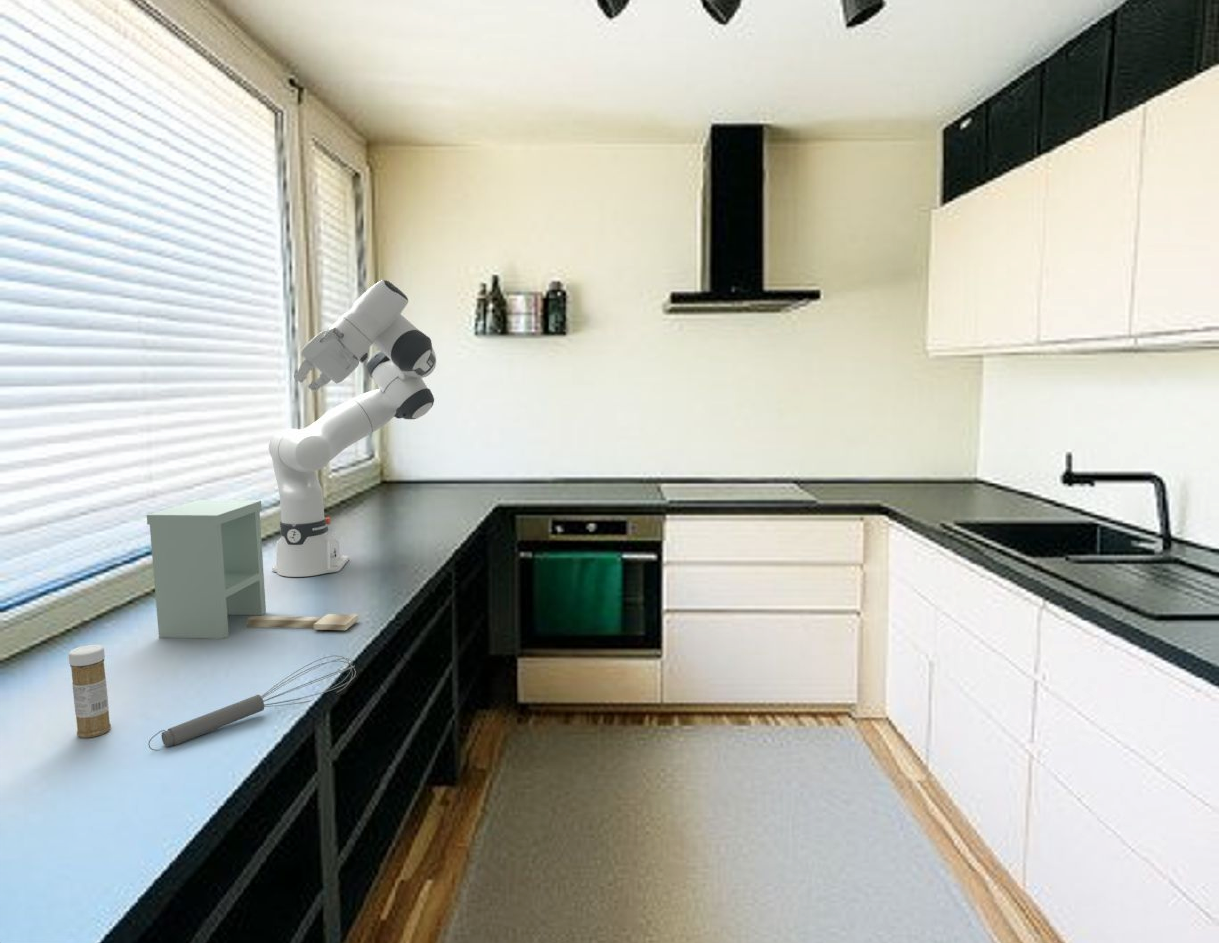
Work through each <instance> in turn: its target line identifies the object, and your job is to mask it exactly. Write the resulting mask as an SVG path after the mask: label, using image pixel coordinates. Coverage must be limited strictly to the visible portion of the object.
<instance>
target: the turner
mask: <svg viewBox="0 0 1219 943" xmlns="http://www.w3.org/2000/svg"><path fill="white" fill-rule="evenodd" d="M358 621H359V614H357V613H356V614H354V613H352V614H351V613H349V614H347V613H346V614H345V613H344V614H343V613H342V614H341V613H327V614H325V615H324V616H321V617H320V616H281V615H280V616H278V615H277V616H276V615H275V616H274V615H273V616H272V615H271V616H270V615H267V616H266V615H250V617H248V618H246V628H274V629H275V628H278V629H282V628H283V629H313V630H314V631H315V630H318V631H319V630H320V631H323V630H325V631H327V630H329V631H347V630H348V629H349V628H350V627H352V626H353V625H354V624H356V623H357V622H358Z"/></svg>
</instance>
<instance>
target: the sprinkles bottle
mask: <svg viewBox="0 0 1219 943" xmlns="http://www.w3.org/2000/svg"><path fill="white" fill-rule="evenodd" d="M105 656H106V655H105V648H104V646H103V645H99V644H89V645H81V646H79V647H76V648H73V649H71V650H70V651H69V652H68V661H69V662H68V664H69V665H70V666H69V667H70V668H71V670H70V671H71V677H72V678H71V679H72V692H73V703H74V714H75V718H76V719H75V720H76V728H77V731H76V735H77V736H78V737H79V738H84V739H85V738H93V737H99V736H102V735H103V734H105V733H107V732H109V731H110V730H111V728H112V725H111V723H110V722H111V721H110V713H109V712H110V711H109V697H108V696H109V695H108V686H107V678H106V669H105Z"/></svg>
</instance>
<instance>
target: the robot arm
mask: <svg viewBox="0 0 1219 943" xmlns="http://www.w3.org/2000/svg"><path fill="white" fill-rule="evenodd" d="M408 303H409V299H408V296H407V295H406V294H405V293H404V292H403V291H402V290H400V289H399V287H397V286H396V285H394V284H393V283H392V282H390V281H388V280H386V279H381V280H380V281H377V282H376V283H375V284H373V285H372V286H371V287H370V288H368V289H367V290H366V291H364V292H363V293H362V295H361V296H360V297H358V299H357V300H356V301H355V302H354V304H353V305H352V307H351V309H349V311H347V312H345V313H343V314H342V315H341V316H339V318H338V319H337V321H335V322H334V324H332V326H330V328H328V330H322V331H320V332H319V333H317V334H316V335H315V336H314V337H313V338H311V340H310V341H308V343H307V344H305V345H304V346H303V347H302V349H301V350H300V355H301V356H302V357H303V358H304V360H303V361H302V362H301V363H300V366H299V369H298V370H297V371H296V373H294V375H293V379H295V380H296V381H298V382H299V383H303V382H304V381H306V379H307V375H308V374H309V373H310V371H313V370H314V369H315V368H316V369H318V371H320V372H321V374H320V375H319V376H318V378H317V379H315V380H312V381H311V382H310V383H309V384H308V386H307V388H309V389H310V390H311V391H312V392H314V393H316V392H317V391H318V390H320V389H321V388H322V387H324V386H326V385H327V384H329V383H330V382H331V381H332V382H333V383H335V384H337V385H338V384H339V383H341V382H343V381H345V380H346V379H347V377H349V376H350V375H351V374H352V373H353V372H354V371H355V370H356V369H357V368H358V367H359V365H360V364H364V363H365V362H366V361H367V362H366V365H365V367H366V370H367V373H368V375H369V376H370V378H371V379H372V380H374V383H375V384H376V386H377V387H378V388H376V389H373V390H369V391H367V392H364V393H361V394H358V395H357V396H354V397H352V398H351V399H349V400H346V401H345V402H343V403H341V404H339V405H337V406H336V407H334V408H332V409H329V410H328V411H326V412H325V413H324V414H323V415H322V416H321V417H319V418H318V419H316V421H314V422H313V423H311V424H310V425H308V426H306V427H304V428H300V429H298V428H285V429H283V430H280V431H278V432H277V433H275V434H274V435H273V436H272V437H271V438H270V439H269V440H270V441H269V443H268V452H269V455H270V457H271V461H272V466H273V471H274V474H275V475H274V476H275V480H276V482H277V487H278V488H277V489H278V494H279V505H280V506H279V507H280V522H279V535H280V536H281V537H280V538H279V539H278V540H277V541H276V551H275V552H276V557H275V559H276V560H275V565H274V566H272V567H271V568H272V569H271V571H272V572H274V573H277V574H278V576H282V577H287V578H288V577H290V578H292V577H293V578H300V577H301V578H303V577H313V576H319V575H324V574H330V573H338V572H340V571H341V570H342V569H343V567H344V566H345V565H346V564H347V563H348V561H349V560H350V558H349V556H348V555H345V554H344V555H343V554H341V549H340V548H341V547H340V541H339V540H338V539H337V538H335V537H334V535H332V534H331V533H330V532H329V527H328V526H329V525H331V521H332V520H331V517H329V516H328V517H325V506H324V490H323V488H322V486H321V484H320V481H319V477H318V473H317V471H320V470H322V469H324V468H325V467H326V466H327V465H328V464H329V463H330V461H332V460H333V459H334V458H336V457H337V456H339V454H341V453H342V452H343V451H344V450H345V449H347V448H349V447H350V446H352V445H354V444H355V443H358V441H361V440H362V439H364V438H365V437H367V436H370V435H371V434H372V433H374V432H376V431H378V430H379V429H380V428H381V429H382V427H384V426H385V425H387V423H389V422H390V421H392V419H393V418H396V419H404V420H416V419H418V418H421V417H422V416H425V415H426V414H427V413H428V412H429V411H430V410H431V408H432V407H433V406H434V402H435V397H434V395H433V393H432V391H431V389H430V388H428V387H427V384H426V383H425V381H424V380H423V378H427V377H429V376H430V375H431V374H432V373H433V372H434V370H435V369H436V365H437V357H436V356H437V355H436V352H435V350H434V348H433V345H432V340H431V338H430V336H428V335H426V334H425V333H423V331H421V330H419V328H417V327H416V326H415V325H413V324H412V322H410V321H409V320H408V319H407V318H406V317H405V316H403V315H402V313H403V311H404V310H405V308H406V307H407V305H408ZM372 346H374V347H375V348H377V351H375V352H373V354H371V355H370V356H369V350H370V347H372Z"/></svg>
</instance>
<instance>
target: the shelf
mask: <svg viewBox="0 0 1219 943" xmlns="http://www.w3.org/2000/svg"><path fill="white" fill-rule="evenodd" d="M262 508H263V507H262V500H225V499H224V500H223V499H222V500H221V499H220V500H214V499H212V500H211V499H210V500H209V499H208V500H207V499H202V500H201V499H197V500H193V501H190V502H186V503H183V504H180V505H176V506H172V507H169V508H165V509H163V510H158V511H155V512H152V513H149V514H146V524H147V525H149V531H150V532H149V533H150V544H151V555H152V556H151V558H152V569H153V571H152V572H153V581H154V593H155V594H154V595H155V605H156V607H155V608H156V617H157V628H158V629H157V632H158V638H169V639H170V638H171V639H173V638H175V639H218V640H219V639H221V640H222V639H226V637H227V638H228V637H229V635H230V634H229V623H228V622H229V621H228V620H229V619H228V616H229V615H232V616H233V615H234V616H235V615H239V616H240V615H242V616H243V615H244V616H264V614H266V613H267V605H266V604H267V603H266V592H265V591H266V589H265V574H264V559H263V544H262V527H261V515H260V514H261V513H260V511H261V510H262Z"/></svg>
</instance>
